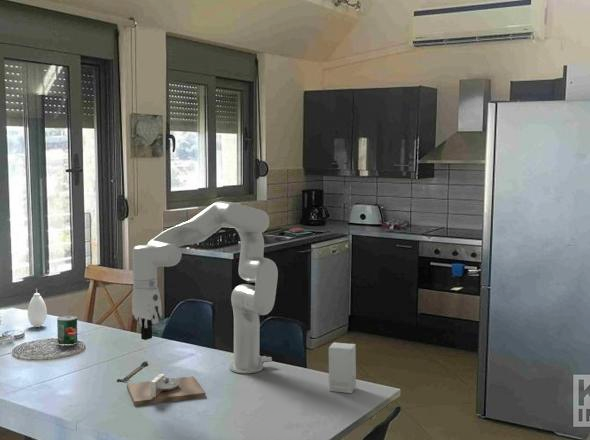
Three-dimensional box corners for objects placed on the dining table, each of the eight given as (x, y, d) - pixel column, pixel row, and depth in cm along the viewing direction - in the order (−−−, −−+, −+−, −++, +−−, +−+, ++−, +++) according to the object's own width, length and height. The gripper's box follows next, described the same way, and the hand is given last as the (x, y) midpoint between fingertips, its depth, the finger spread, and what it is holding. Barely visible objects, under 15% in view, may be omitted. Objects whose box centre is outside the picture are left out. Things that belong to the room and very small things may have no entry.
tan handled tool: (133, 386, 237) (133, 383, 237) (115, 383, 239) (116, 380, 239) (159, 366, 257) (159, 363, 257) (143, 363, 259) (143, 360, 259)
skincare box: (356, 387, 235) (357, 343, 234) (351, 394, 229) (352, 349, 227) (332, 384, 238) (333, 341, 236) (327, 391, 232) (328, 346, 230)
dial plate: (193, 380, 241) (193, 375, 241) (205, 396, 225) (205, 392, 225) (126, 388, 232) (126, 383, 232) (134, 405, 217) (134, 400, 216)
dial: (157, 380, 234) (157, 366, 234) (182, 382, 233) (182, 368, 232) (140, 395, 220) (140, 380, 220) (166, 398, 218) (166, 382, 218)
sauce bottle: (24, 328, 304) (23, 289, 302) (34, 324, 312) (33, 285, 310) (41, 329, 303) (40, 290, 301) (50, 325, 311) (49, 286, 309)
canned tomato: (74, 346, 279) (73, 320, 278) (54, 346, 279) (54, 319, 278) (80, 341, 287) (79, 315, 286) (61, 340, 287) (61, 315, 286)
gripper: (169, 284, 219) (170, 340, 221) (139, 278, 228) (141, 332, 231) (151, 288, 213) (152, 345, 216) (121, 282, 223) (123, 337, 225)
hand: (146, 338), depth 223 cm, fingers closed
